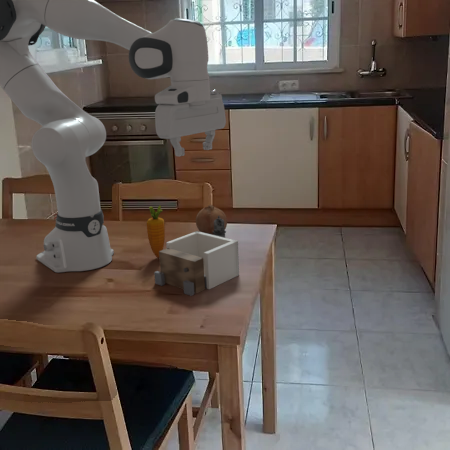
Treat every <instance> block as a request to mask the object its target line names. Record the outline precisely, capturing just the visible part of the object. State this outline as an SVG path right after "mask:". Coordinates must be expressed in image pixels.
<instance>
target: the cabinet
mask: <svg viewBox="0 0 450 450" xmlns="http://www.w3.org/2000/svg"><path fill="white" fill-rule="evenodd" d="M165 244H166V245H165V246H166V249H167V248H170V249H173V250H177V251H180V252H184V253H187V254H191V255H195V256H198V257H202V258H203V261H204V280H205V290H211V289H213V288H215V287H217V286H219V285H221V284H223V283H226V282H228V281H229V280H231V279H234V278H236V277H238V276H240V267H239V265H240V262H239V260H240V259H239V257H240V256H239V241H238V240H235V239H230V238H228V237H225V238H223V237H219V236H215V235H211V234H207V233H203V232H200V231H199V230H196V231H193V232H191V233H188V234H186V235H183V236H180V237H177V238H174V239H172V240H169V241H167V242H165ZM153 273H154V274H153V275H154V282H155V285H159V286H161V287H163V286H165V285H166V283H165V280H164V273H162V272H160V270H159V271H158V270H156V271H154V272H153ZM183 285H184V289H183V294H185V295H187V296H190V297H192V296H194V295H195V293H194V283H193V282H190V281H187V280H186V281H183Z"/></svg>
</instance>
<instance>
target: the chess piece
mask: <svg viewBox="0 0 450 450" xmlns="http://www.w3.org/2000/svg"><path fill="white" fill-rule="evenodd" d="M213 233H214V235H215V236H219V237H223V238H226V233H227V231H226V229H225V227H224V220H223V219H221V218H220V216H218V218H217V219H216V220H215V221H214V231H213Z"/></svg>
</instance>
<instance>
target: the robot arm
mask: <svg viewBox="0 0 450 450" xmlns="http://www.w3.org/2000/svg"><path fill="white" fill-rule="evenodd" d="M46 28H48V29H50V30H52V31H53V32H56V33H58V34H60V35H63V36H65V37H69V38H72V39H75V40H87V41H90V40H91V41H102V42H106V43H107V42H108V43H112V44H114V45H117V46H119V47H121V48H124V49H125V50H128V62H129V66H130V68H131V70H132V71H133V73H134V74H136V75H137V76H138V77H140V78H142V79H147V80H157V79H165V78H167V79H168V78H170V85H169V86H168V87H166V88H164V89H163V90H161V91H159V92H157V93H156V94H155V95H154V102H155V104H157V106H156V108H155V112H154V118H155V119H154V120H155V121H154V123H155V132H156V135H157V136H158V138H160V139H167V140H169V142H170V144H171V146H172V147H173V149H174V156H176V157H183V156H185V154H186V153H185V148H184V147H182V146H181V143H180V142H181V141H182V138H181V137H184V136H190V135H195V134H196V135H197V134H200V133H204V135H206V137H205V139H204V142H202V149H203V150H204V151H209V150H212V149H213V142H214V139H215V136H216V130H222V129H224V128H225V127H226V125H227V119H226V110H225V105H224V102H223V95H222V94H221V92H219V91H218V90H217V89H214V90H211V85H210V84H211V83H210V74H209V72H208V63H209V48H208V38H207V33H206V29H205V26H204V24H203V23H201V22H200V21H197V20H193V19H188V18H187V19H186V18H179V17H175V18H171V19H170V20H169V21H168V22H167V24H165V25H164V26H163V27H161V28H160V29H158V30H156V31H154V32H152V31H150V30H148V29H146V28H144V27H143V26H142V27H141V26H140V25H138V24H135V23H134V22H132V21H129V20H127V19H126V18H124V17H122V16H120V15H118V14H116V13H114V12H113V11H111V10H110V9H108V8H107V7H105V6H103V5H102V4H100V3H99V2H97V1H96V0H0V88H1V89H2V90H3V91H4V92H5V94H6V95H7V96H8V98H9V100H11V101H12V103H13V104H14V105H15V106H16V107H17V109H18V110H19V111H20V112H21V114H22V115H23V116H24V117H25V118H27V119H29V120H32V121H34V122H36V124H39V125H41V127H40V128H38V129H37V130H36V131H35V133H33V135H32V138H31V150H32V153H33V155H34V157H35V158H36V160H37V161H38V162H40V163H41V164H42V165H43V166H45V169H46V170H47V173H48V174H49V177H50V180H51V181H52V185H53V188H54V195H55V200H56V201H55V202H56V209H57V213H55V214H53V216H55V217H53V219H54V220H55V226H54V228H53V229H52V230H51V231H50V232H49V233H48V234H47V235H46V236H44V240H43V249H44V251H41V252H40V253H38V254H37V255H36V260H37V261H39V262H40V263H41V264H43V265H44V266H46V267H47V268H49V269H50V271H51V270H52V271H53V272H55V273H65V272H84V271H91V270H95V269H100V268H103V267H105V266H107V265H108V264H109V263H111V261H112V260H113V255H114V253H115V251H114V249H113V248H111V245H110V239H109V234H108V233H109V232H108V230H107V226H105V225H104V217H105V216H104V213H103V209H101V199H100V193H99V191H100V190H99V182H98V181H97V179H96V178H95V177H93V176H92V174H91V172H90V170H89V167H88V165H87V159H86V158H87V157H90V156H92V155H94V154H96V153H97V152H98V151H99V150H100V149H101V148H102V147H103V146H104V144H105V142H106V141H107V131H106V127H105V125H104V124H103V122H102V121H101V120H100V119H99V118H97V117H96V116H93V115H91V114H89V113H88V112H87V111H85V110H84V109H82V108H81V107H80V106H79V105H77V104H76V103H75V102H74V101H73V100H71V98H69V97H68V96H67V95H66V94H65V93H64V92H63V91H61V89H60V88H59V87H58V86H57V85H56V84H55V83H54V81H53V80H52V79H51V77H50V76H49V75H48V73H46V72H45V70H44V69H43V67H42V66H41V65H40V64H39V62H37V60H36V59H35V58H34V56H33V55H32V54H31V51H30V50H29V46H33V45H36V43H37V42H38V39H39V38H40V36H41V35H42V33H43V32H44V30H45V29H46Z"/></svg>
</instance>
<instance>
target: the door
mask: <svg viewBox="0 0 450 450" xmlns="http://www.w3.org/2000/svg"><path fill="white" fill-rule="evenodd" d="M158 259H159V272H162V273H164V280H165V284H168V285H169V286H173V287H176V288H179V289H182V290H184V285H183V281H186V280H187V281H190V282H193V283H194V294H198V293H200V292H202V291H204V290H206V288H205V280H204V261H203V258H202V257H198V256H195V255H191V254H187V253H184V252H180V251H177V250H173V249H170V248H167V247H166V248H163V250H161V251H159V258H158Z"/></svg>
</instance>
